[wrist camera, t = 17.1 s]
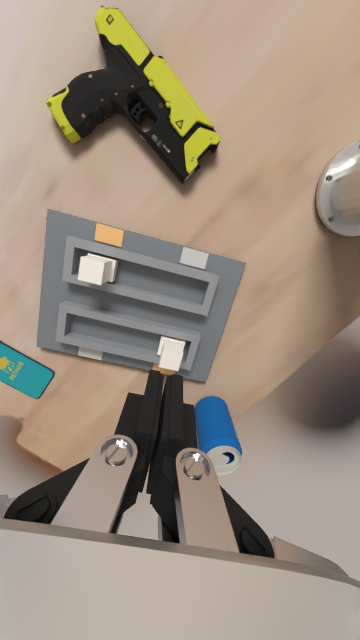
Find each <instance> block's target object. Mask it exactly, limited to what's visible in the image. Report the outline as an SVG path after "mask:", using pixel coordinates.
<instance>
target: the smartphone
mask: <svg viewBox="0 0 360 640" xmlns="http://www.w3.org/2000/svg"><path fill="white" fill-rule="evenodd" d="M53 376H54V371H53V370H51V369H49V368H48V367H46V366H44V365H42V364H40V363H39V362H37V361H35V360H33V359H32V358H30V357H28V356H26V355H24V354H23V353H21V352H19V351H17V350H15V349H14V348H12V347H10V346H8V345H7V344H5V343H3V342H2V341H0V381H2V382H4V383H6V384H7V385H9V386H11V387H13V388H15V389H17V390H19V391H21V392H23V393H25V394H27V395H29V396H31V397H33V398H35V399H37V398H39V397H40V396H41V394H42V393H43V391H44V390H45V388H46V387H47V385H48V384H49V382H50V381H51V379H52V378H53Z"/></svg>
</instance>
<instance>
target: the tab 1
mask: <svg viewBox="0 0 360 640" xmlns="http://www.w3.org/2000/svg"><path fill="white" fill-rule="evenodd" d="M118 261H119V260H117V259H113V258H110V257H106V256H102V255H98V254H94V253H88V256H81V258H80V266H79V274H78V280H81V281H85V282H89V283H93V284H97V285H102V284H104V283H106V282H108V281H109V282H113V281H115V278H116V272H117V266H118Z"/></svg>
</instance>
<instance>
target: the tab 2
mask: <svg viewBox="0 0 360 640" xmlns="http://www.w3.org/2000/svg"><path fill="white" fill-rule="evenodd" d="M184 346H185V340H182V339H178V338H174V337H169V336H165V335H161V339H160V343H159V347H158V351H157V355H160V360H159V367H160V368H165V369H170V370H174V371H178V370H179V367H180V363H181V360H182V357H183V349H184Z"/></svg>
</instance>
